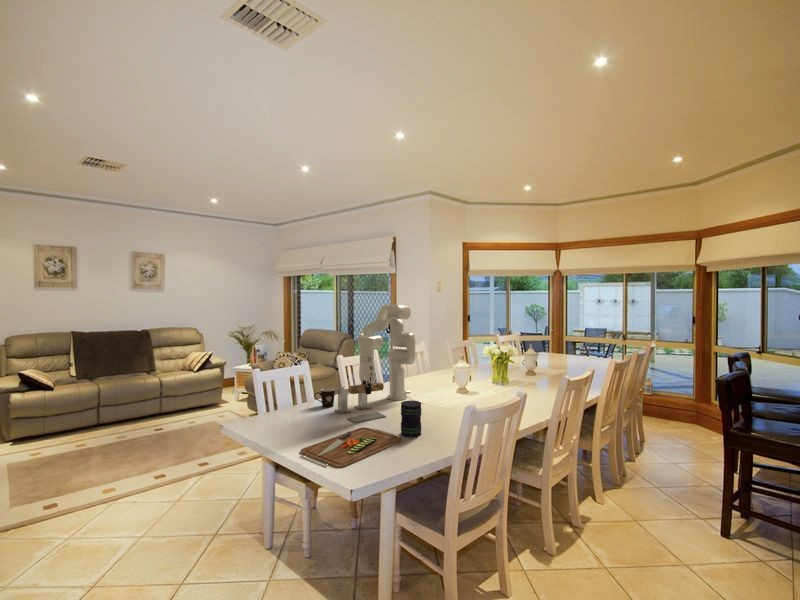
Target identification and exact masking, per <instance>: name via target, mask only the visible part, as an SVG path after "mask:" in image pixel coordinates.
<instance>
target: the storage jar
mask: <svg viewBox="0 0 800 600" xmlns="http://www.w3.org/2000/svg"><path fill="white" fill-rule="evenodd" d="M400 405H401V406H400V416H401V422H400V435H401V436H402V437H403V436H404V438H407V437H409V439H414V438H413V437H416V438H419V437H421V436H422V417H421V416H422V402H420V401H419V400H404V401H403V400H402V402H400ZM420 435H421V436H420ZM418 436H419V437H418Z"/></svg>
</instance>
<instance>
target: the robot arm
mask: <svg viewBox="0 0 800 600" xmlns="http://www.w3.org/2000/svg"><path fill="white" fill-rule="evenodd" d="M411 314H412V311H411V308H410V307H409V305H403V304H384V305H382V306H381V307H380V309H379V311H378V314H377V315H376V317H375V319H374V321H373V320H372V322H370V323H369V324H367V325H365V326H364V327H363V328H362V330H361V331H360V332H359V335H358V338H357V346H358V347H359V366H358V367H359V368H358V370H359V371H358V378H359V381H360V383H361V384H360V385H363V384H366V392H365V393H366V395H367V396H368V395H371V394H372V392H371V387H372V384H373V383H375V381H376V368H375V362H374V359H375V358H374V356H375V355H374V354H375V353H374V351H375V350H376V349H377V350H378V349H381V348H382V347H383V345H384V342H385V341H384V339H383V337H382V336H381V335H378V334H377V333H380V332H383V331H385V330H386V329H388V327H390V332H389V333H390V337H389V338H390V340H389V341H390V345H391V346H392V347H395V348H392V349H390V350H389V351H388V354H387V357H388V364H389V365H388V366H389V394H387V396H386V397H387V399H388V400H391V401H403V400H404V401H405V400H406V399H407V398H408V396H407V394H409V395H410V394H411V393H412V392H411V390H405V368H404V367H403V365H410V366H411V365H413V364H415V361H416V337H415V335H414V333H413V332H409V331H408V332H406V331H404V326H405V325H404V323H403V321H402V320H409V318H410V317H411ZM389 325H390V326H389ZM403 348H405V349H403Z"/></svg>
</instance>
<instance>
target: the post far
mask: <svg viewBox="0 0 800 600" xmlns="http://www.w3.org/2000/svg"><path fill="white" fill-rule="evenodd" d="M354 408H355V409H357V410H358V411H365V410H371V409H372V407H371V406H369V405H368V395H366V393H358V394H357V405H354Z"/></svg>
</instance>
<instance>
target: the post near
mask: <svg viewBox="0 0 800 600" xmlns="http://www.w3.org/2000/svg"><path fill="white" fill-rule="evenodd" d="M336 394H337V408H335V409H334V412H335V413H337V414H338V415H342V414H343V415H344V414H347V413H352V410H350V409H348V396H349V394H350V393H349V392H348V388H345V386H341V387H337V388H336Z"/></svg>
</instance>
